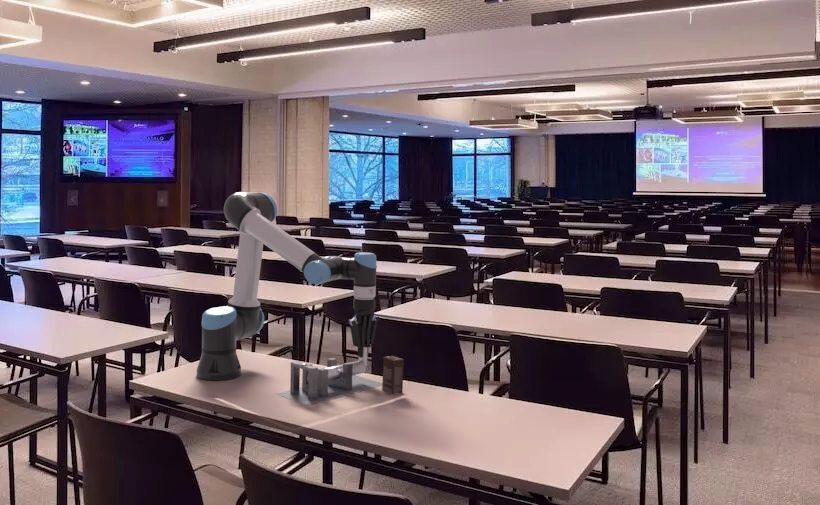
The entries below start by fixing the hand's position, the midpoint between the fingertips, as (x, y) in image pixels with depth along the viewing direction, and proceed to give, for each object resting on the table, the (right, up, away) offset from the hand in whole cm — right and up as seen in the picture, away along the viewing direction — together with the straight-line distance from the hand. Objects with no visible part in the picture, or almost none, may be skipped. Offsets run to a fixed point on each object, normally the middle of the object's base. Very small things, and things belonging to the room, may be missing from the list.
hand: (362, 365), depth 235 cm
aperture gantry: (-17, -7, -19) cm, 26 cm away
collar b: (-14, -6, -15) cm, 22 cm away
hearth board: (-9, -7, -10) cm, 15 cm away
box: (+10, -8, -10) cm, 17 cm away
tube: (-8, -3, -8) cm, 12 cm away
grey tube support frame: (-7, -6, -7) cm, 12 cm away
